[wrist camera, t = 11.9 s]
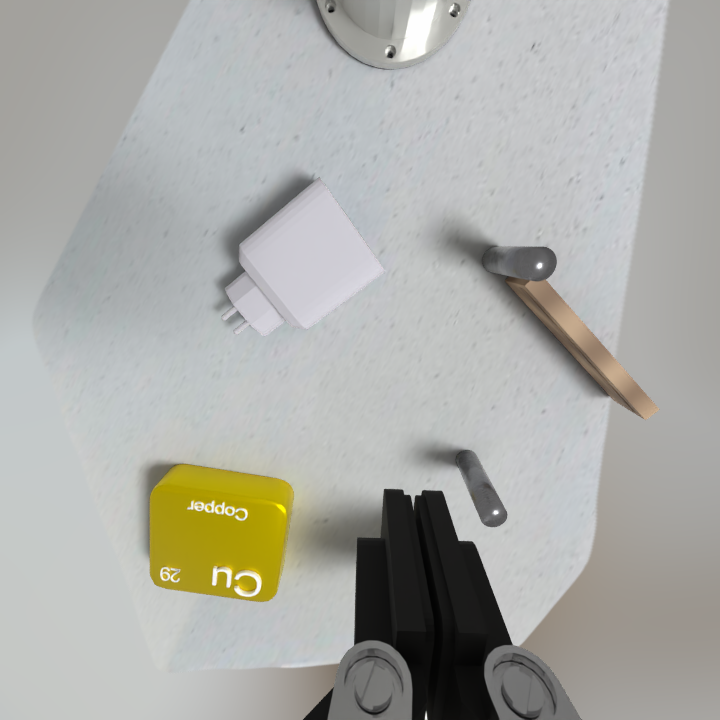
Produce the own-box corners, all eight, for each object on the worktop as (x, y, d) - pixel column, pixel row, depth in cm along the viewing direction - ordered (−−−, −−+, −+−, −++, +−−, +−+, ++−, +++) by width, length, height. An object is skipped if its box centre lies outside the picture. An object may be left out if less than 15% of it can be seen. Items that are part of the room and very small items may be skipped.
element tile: (296, 479, 42) (288, 507, 38) (282, 574, 47) (273, 609, 42) (169, 459, 42) (145, 485, 37) (167, 557, 46) (146, 592, 42)
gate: (504, 281, 34) (524, 286, 30) (517, 268, 34) (539, 272, 29) (613, 400, 38) (644, 420, 34) (626, 390, 37) (660, 409, 33)
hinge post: (484, 246, 34) (525, 246, 25) (509, 247, 34) (559, 247, 25) (480, 272, 34) (519, 281, 26) (505, 273, 34) (552, 282, 26)
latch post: (457, 449, 40) (482, 504, 32) (478, 450, 40) (509, 505, 32) (454, 468, 41) (478, 526, 33) (475, 468, 41) (505, 527, 33)
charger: (205, 283, 35) (324, 184, 32) (267, 355, 37) (383, 268, 35) (182, 289, 31) (318, 174, 28) (253, 370, 33) (386, 271, 30)
